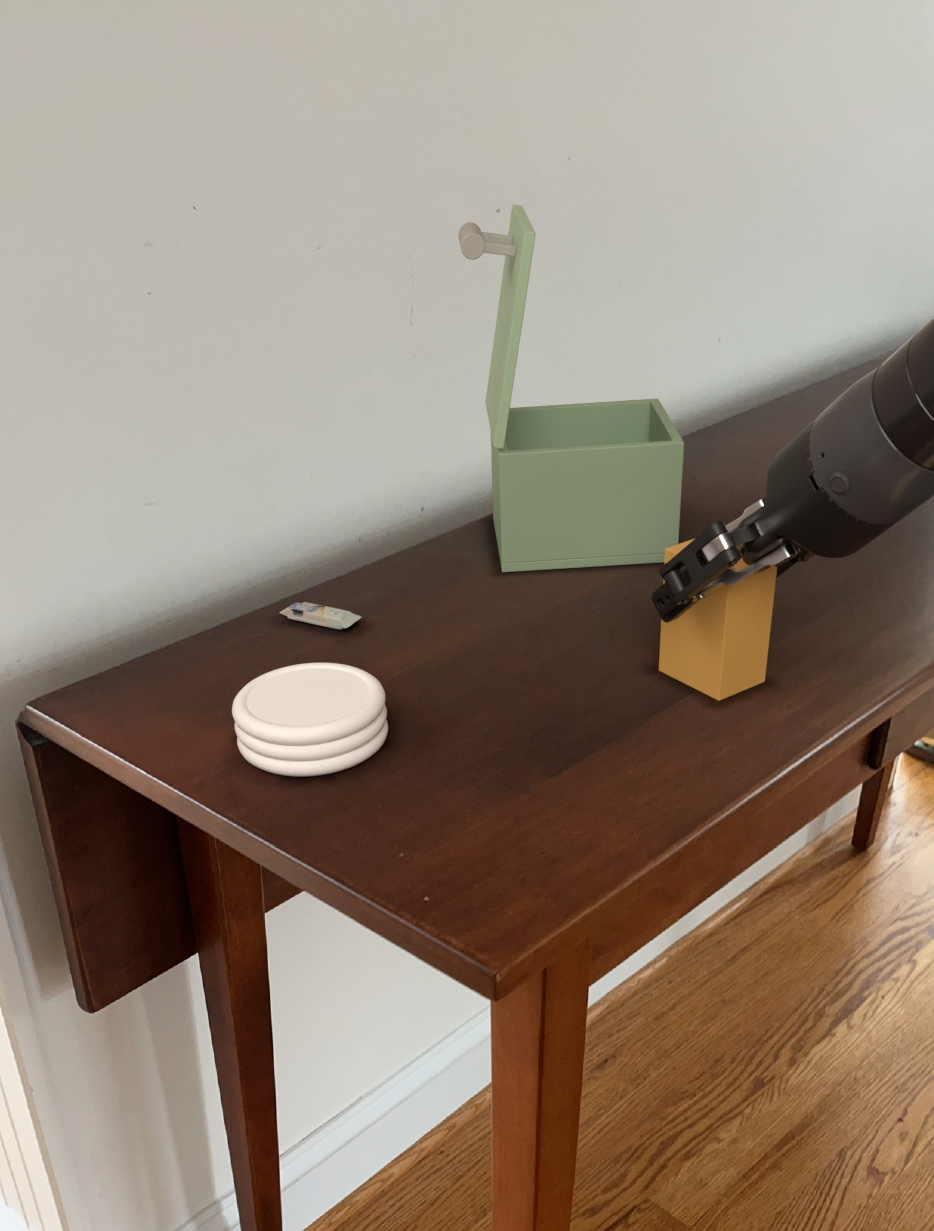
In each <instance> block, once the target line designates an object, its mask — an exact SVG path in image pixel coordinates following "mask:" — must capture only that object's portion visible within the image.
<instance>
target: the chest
mask: <svg viewBox="0 0 934 1231" xmlns="http://www.w3.org/2000/svg"><path fill="white" fill-rule="evenodd" d="M683 440H684V439H683V438H682V437H681V435H680V434H679V432H678V430H677V428H676V426H675V425H674V423H673V421H672V419H671V418H670V416H669V415H668V412H667V411H666V409H665V408H664V406H663V404H662V402H661V400H659V398H645V399H642V398H641V399H630V400H629V399H628V400H613V401H612V400H611V401H597V402H581V403H565V404H564V403H563V404H550V405H549V404H547V405H536V406H519V407H517V406H516V407H510V410H509V417H508V423H507V430H506V437H505V444H504V448H503V449H501V448H494V445H493V440H492V435H491V434H490V454H491V457H490V458H491V459H490V460H491V486H492V487H491V488H492V489H491V491H492V519H493V525H494V531H495V537H496V538H495V539H496V542H497V550H498V555H499V562H500V568H501V572H502V573H514V572H530V571H549V570H563V569H579V568H580V569H581V568H594V567H595V568H597V567H609V566H610V567H611V566H627V565H643V564H657V563H658V564H661V563H664V559H665V549H666V548H669V547H671V546H674V545H677V544H679V539H680V538H679V537H680V524H681V505H682V502H681V501H682V489H683V488H682V487H683V474H684V473H683V472H684V453H685V442H684V441H683Z"/></svg>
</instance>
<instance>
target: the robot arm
mask: <svg viewBox="0 0 934 1231" xmlns="http://www.w3.org/2000/svg"><path fill="white" fill-rule="evenodd" d="M765 483H766V486H765V487H766V488H765V497H763V498H760V499H758V500H756V501H755V502H754V503H753V504H750V505H749V506H747V507H746V508H745V509H744V510H743V512H742V514H741V516H739V517H738V518H736V519H734V520H733V521H731V522H729V523H728V524H725V522H724V520H719V521H714V522H712V523H710V524H709V525H708V527H707V528H705V529H704V530H703V531H702V532H701V533H700V534H699V535H697V536H696V537H695V538H693V539H694V540H693V541H692V542H691V543H689V544H688V545H687V546H686V547H685V548H684V549H682V550H681V551H680V552H679V553H678V554H677V555H675V556H674V557H673V558H672V559H671V560H670V561H668V562H667V563H665V564H664V563H663V565H662V566H661V567H660V568H659V569H658V572H659V574H660V576H661V578H662V579H664V581H665V583H664V584H663V583H662V584H661V585H660V586H659V587H658V588H657V589H656V590H655V591H653V593H652V594H651V601H652V603H653V605H654V607H655V609H656V611H657V613H658V615H659V616H660V619H661V618H662V620H663V621H664V622H666V623H667V622H670V621H673V620H676V619H677V618H678V617H680V616H681V615H682V614H683V613H684V612H686V611H687V610H688V609H689V608H691V607H692V606H693V605H694V604H695V603H697V602H698V601H700V600H702V599H704V598H705V596H706V595H708V594H710V593H711V592H713V591H715V590H716V589H718V588H720V587H722V586H723V585H725V584H726V585H728V586H732V587H737V586H739V585H741V584H742V583H744V582H746V581H747V580H749V579H751V578H752V577H754V576H756V575H758V574H759V573H761V572H763V571H764V570H766V569H768V568H769V567H772V566H774V567H777V574H776V579H778V578H779V577H780V576H782V575H783V574H784V573H785V572H787V571H788V570H789V569H790V568H792V567H793V566H794V565H796V564H799V563H805V562H807V561H809V560H810V559H811V558H813V557H815V556H819V557H821V558H827V559H829V558H830V559H841V558H846V557H849V556H851V555H853V554H856V553H857V552H859V551H860V550H861V549H863V548H864V547H866V546H867V545H868V544H870V543H871V542H872V541H874V540H875V539H877V538H878V537H879V536H881V535H882V534H883V533H885V532H886V531H888V530H889V529H890V528H891V527H893V526H894V525H896V524H897V523H899V522H900V521H901V520H902V519H904V518H905V517H906V516H908V515H909V514H911V513H912V512H914V511H915V510H916V509H918V508H919V507H921V506H922V505H923V504H925V503H926V502H928V500H930V499H931V498H933V497H934V317H932V318H931V319H930V320H929V321H928V322H926V323H925V324H924V325H923V326H922V327H921V328H919V329H918V330H917V331H916V332H915V333H914V334H913V335H912V336H911V337H910V338H909V339H908V340H907V341H906V342H904V343H903V344H902V345H900V347H899V348H898V349H896V350H895V351H894V352H893V353H892V354H891V355H890V356H889V357H888V358H886V359H885V360H884V361H883V362H882V363H881V364H880V365H879V366H877V367H876V368H874V369H873V370H872V371H870V372H869V373H867V374H865V375H864V376H862V377H861V378H859V379H858V380H857V381H855V382H854V383H852V384H851V385H850V386H849V387H847V389H846V390H844V391H843V392H842V393H841V394H840V395H839V396H838V397H837V398H836V399H835V400H833V401H832V402H831V403H830V404H829V405H828V406H827V407H826V408H824V410H822V411H821V412H820V413H819V414H818V415H817V416H816V417H815V418H814V419H813V420H812V421H811V422H809V423H808V424H807V425H806V426H805V427H804V428H803V429H802V430H801V431H800V432H799V433H797V434H796V435H795V436H794V437H793V438H792V439H791V440H790V441H788V443H787V444H785V446H783V447H782V448H781V449H779V451H778V452H777V453H776V454H775V456H774V457H773V458H772V460H771V462H770V464H769V467H768V470H767V474H766V482H765ZM741 558H742V559H743V561H744V562H745V563H746V564H747V565H750V566H749V567H747V568H745V569H744V570H742V571H739V572H737V571H736V570H735V568H734V566H735V565H736V564H737V562H738V561H739V560H740V559H741Z"/></svg>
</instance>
